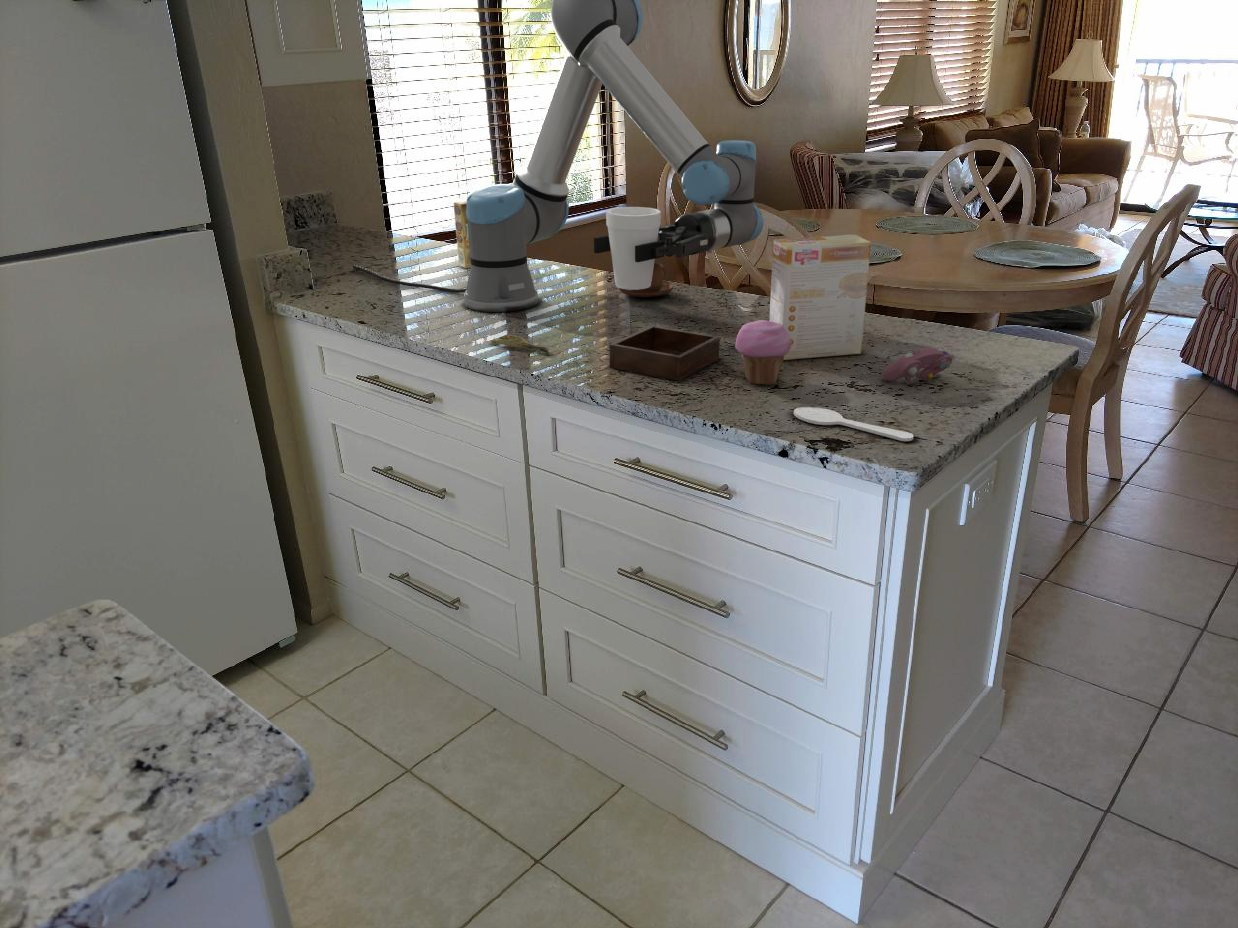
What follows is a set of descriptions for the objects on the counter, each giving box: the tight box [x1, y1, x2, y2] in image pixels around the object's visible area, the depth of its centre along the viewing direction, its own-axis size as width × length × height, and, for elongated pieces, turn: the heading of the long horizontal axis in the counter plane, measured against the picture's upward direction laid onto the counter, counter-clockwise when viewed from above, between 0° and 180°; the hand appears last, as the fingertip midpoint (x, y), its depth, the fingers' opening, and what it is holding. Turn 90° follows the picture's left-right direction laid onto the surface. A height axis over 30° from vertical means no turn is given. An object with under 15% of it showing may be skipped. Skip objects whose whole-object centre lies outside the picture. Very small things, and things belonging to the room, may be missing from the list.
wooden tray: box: [608, 325, 721, 382], centre depth 162 cm, size 14×14×4 cm
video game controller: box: [882, 346, 953, 385], centre depth 152 cm, size 10×5×7 cm, turn 114°
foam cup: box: [605, 206, 662, 290], centre depth 169 cm, size 10×9×13 cm
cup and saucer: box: [618, 262, 675, 298], centre depth 205 cm, size 12×12×6 cm
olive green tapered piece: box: [490, 334, 550, 356], centre depth 172 cm, size 4×13×2 cm, turn 55°
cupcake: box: [734, 319, 791, 386], centre depth 152 cm, size 9×9×10 cm
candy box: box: [453, 200, 471, 269], centre depth 232 cm, size 9×4×15 cm, turn 126°
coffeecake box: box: [768, 234, 872, 361], centre depth 164 cm, size 15×7×20 cm, turn 102°
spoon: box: [793, 406, 914, 442], centre depth 136 cm, size 5×18×1 cm, turn 52°
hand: (615, 249), depth 166 cm, fingers closed on foam cup, 9 cm apart
